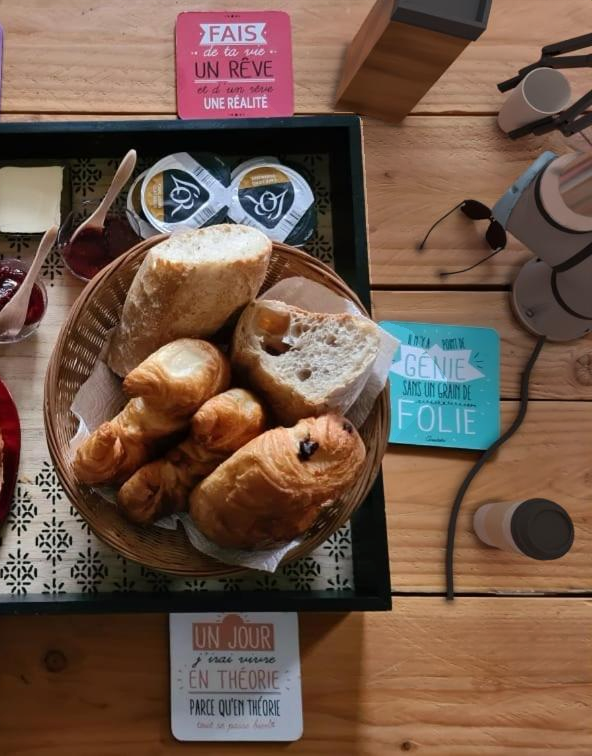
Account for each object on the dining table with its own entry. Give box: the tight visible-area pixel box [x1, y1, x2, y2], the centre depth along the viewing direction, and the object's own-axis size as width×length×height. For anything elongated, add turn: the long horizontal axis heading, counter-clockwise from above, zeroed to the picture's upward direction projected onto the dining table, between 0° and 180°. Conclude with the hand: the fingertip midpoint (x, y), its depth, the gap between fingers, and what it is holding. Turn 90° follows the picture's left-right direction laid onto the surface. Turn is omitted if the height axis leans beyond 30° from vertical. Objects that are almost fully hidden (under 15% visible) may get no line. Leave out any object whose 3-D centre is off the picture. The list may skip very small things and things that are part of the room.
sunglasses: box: [419, 198, 508, 276], centre depth 125 cm, size 10×12×5 cm
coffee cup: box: [472, 497, 575, 562], centre depth 112 cm, size 9×9×15 cm
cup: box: [497, 68, 573, 134], centre depth 125 cm, size 8×8×10 cm
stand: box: [333, 0, 473, 125], centre depth 118 cm, size 12×12×25 cm
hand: (505, 112), depth 126 cm, fingers closed on cup, 8 cm apart
